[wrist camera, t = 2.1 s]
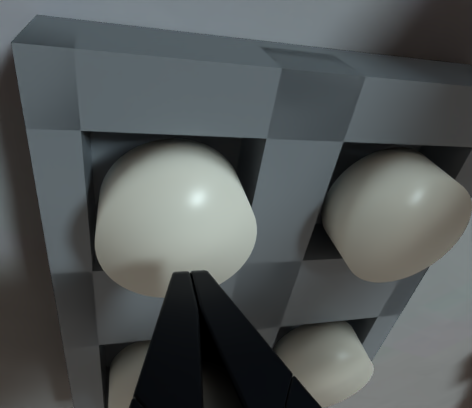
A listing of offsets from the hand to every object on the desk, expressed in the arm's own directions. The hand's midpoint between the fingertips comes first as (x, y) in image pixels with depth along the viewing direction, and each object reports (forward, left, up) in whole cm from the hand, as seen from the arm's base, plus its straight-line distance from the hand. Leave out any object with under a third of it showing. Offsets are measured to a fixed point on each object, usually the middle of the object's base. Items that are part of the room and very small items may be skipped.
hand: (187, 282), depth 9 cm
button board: (-4, +5, -6) cm, 8 cm away
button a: (-7, 0, -4) cm, 8 cm away
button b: (0, 0, -3) cm, 3 cm away
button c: (-8, +9, -3) cm, 12 cm away
